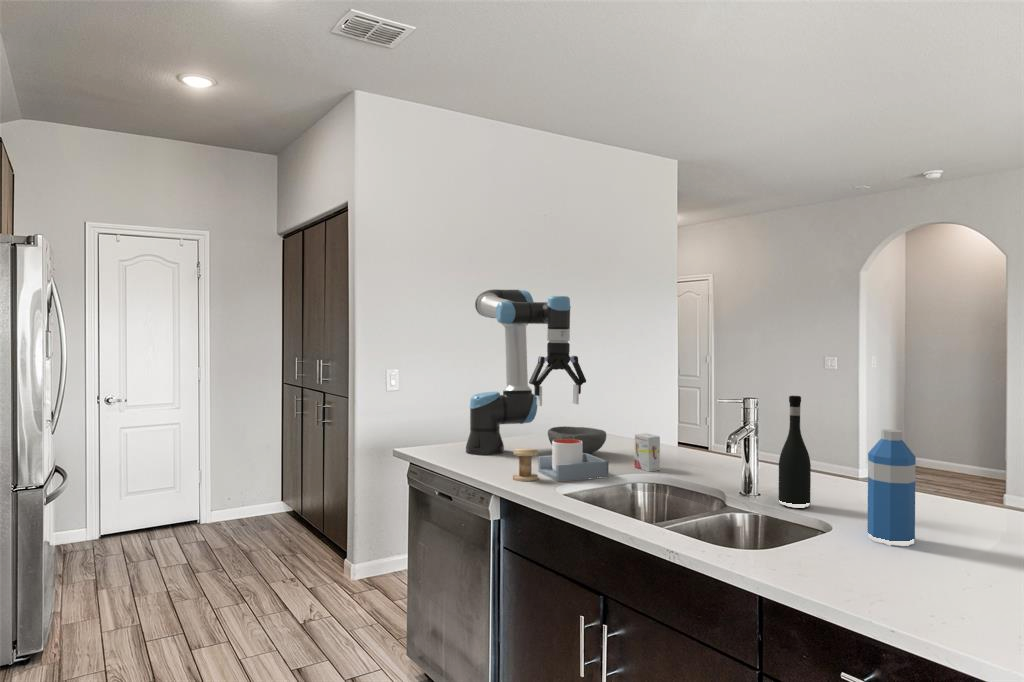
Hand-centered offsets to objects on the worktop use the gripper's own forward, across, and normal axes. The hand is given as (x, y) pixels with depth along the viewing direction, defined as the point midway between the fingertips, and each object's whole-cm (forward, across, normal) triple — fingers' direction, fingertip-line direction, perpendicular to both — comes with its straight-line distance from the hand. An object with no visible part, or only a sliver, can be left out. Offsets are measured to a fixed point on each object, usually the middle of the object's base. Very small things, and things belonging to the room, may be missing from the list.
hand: (557, 404), depth 222 cm
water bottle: (+20, +39, -95) cm, 104 cm away
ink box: (+23, +31, -8) cm, 39 cm away
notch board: (+23, +3, -6) cm, 24 cm away
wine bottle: (+21, +41, -64) cm, 79 cm away
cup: (+22, +1, -6) cm, 23 cm away
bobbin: (+23, -14, -6) cm, 27 cm away
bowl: (+24, +20, +24) cm, 40 cm away
